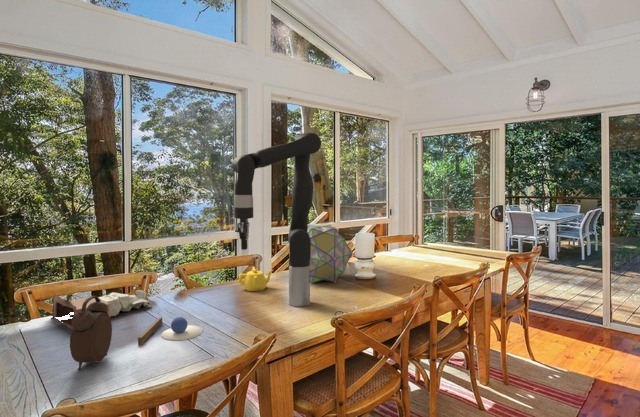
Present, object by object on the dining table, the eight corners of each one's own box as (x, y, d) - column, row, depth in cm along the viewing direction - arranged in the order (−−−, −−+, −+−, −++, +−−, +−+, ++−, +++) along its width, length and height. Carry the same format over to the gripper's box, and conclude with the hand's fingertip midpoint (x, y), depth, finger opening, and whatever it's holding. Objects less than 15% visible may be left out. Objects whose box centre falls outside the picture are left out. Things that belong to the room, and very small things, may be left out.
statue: (161, 313, 166) (160, 290, 166) (65, 336, 142) (64, 309, 141) (138, 300, 183) (137, 279, 182) (48, 319, 158) (47, 294, 158)
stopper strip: (162, 323, 152) (162, 317, 152) (141, 344, 132) (141, 337, 132) (159, 323, 152) (158, 317, 152) (138, 344, 132) (137, 337, 132)
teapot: (274, 287, 204) (273, 268, 204) (256, 293, 193) (256, 273, 192) (253, 284, 212) (253, 265, 211) (235, 289, 200) (235, 270, 200)
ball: (171, 324, 146) (183, 333, 146) (165, 328, 140) (178, 338, 140) (180, 312, 146) (192, 321, 146) (175, 316, 140) (187, 325, 140)
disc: (206, 325, 150) (206, 324, 150) (197, 340, 136) (197, 339, 136) (168, 326, 150) (168, 325, 150) (155, 341, 136) (155, 340, 136)
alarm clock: (91, 353, 126) (88, 291, 125) (114, 352, 126) (112, 290, 125) (65, 375, 111) (62, 305, 110) (92, 374, 112) (89, 304, 111)
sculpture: (282, 281, 216) (282, 226, 214) (314, 271, 240) (314, 222, 238) (328, 290, 199) (328, 230, 197) (358, 278, 223) (358, 225, 221)
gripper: (251, 207, 153) (251, 252, 154) (255, 205, 166) (255, 246, 167) (231, 207, 152) (232, 252, 153) (236, 205, 165) (237, 246, 167)
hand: (244, 249), depth 160 cm, fingers closed
